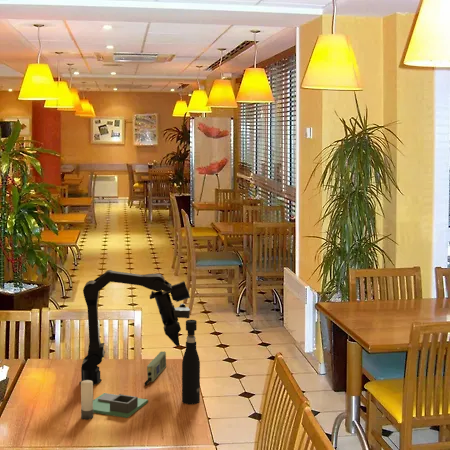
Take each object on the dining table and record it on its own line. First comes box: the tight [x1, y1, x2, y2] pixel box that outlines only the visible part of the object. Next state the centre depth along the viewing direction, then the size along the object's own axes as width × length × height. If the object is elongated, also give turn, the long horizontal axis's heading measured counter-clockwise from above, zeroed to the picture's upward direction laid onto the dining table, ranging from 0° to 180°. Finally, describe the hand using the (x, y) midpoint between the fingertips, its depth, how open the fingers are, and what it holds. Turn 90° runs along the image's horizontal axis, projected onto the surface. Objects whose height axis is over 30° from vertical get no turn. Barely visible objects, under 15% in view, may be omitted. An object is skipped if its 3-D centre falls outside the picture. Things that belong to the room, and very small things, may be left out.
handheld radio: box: [144, 351, 167, 386], centre depth 304 cm, size 7×3×25 cm
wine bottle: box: [181, 319, 201, 406], centre depth 275 cm, size 6×6×30 cm
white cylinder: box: [80, 380, 94, 421], centre depth 261 cm, size 4×4×12 cm
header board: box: [93, 392, 149, 419], centre depth 271 cm, size 18×16×4 cm
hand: (177, 342), depth 298 cm, fingers open, 9 cm apart
